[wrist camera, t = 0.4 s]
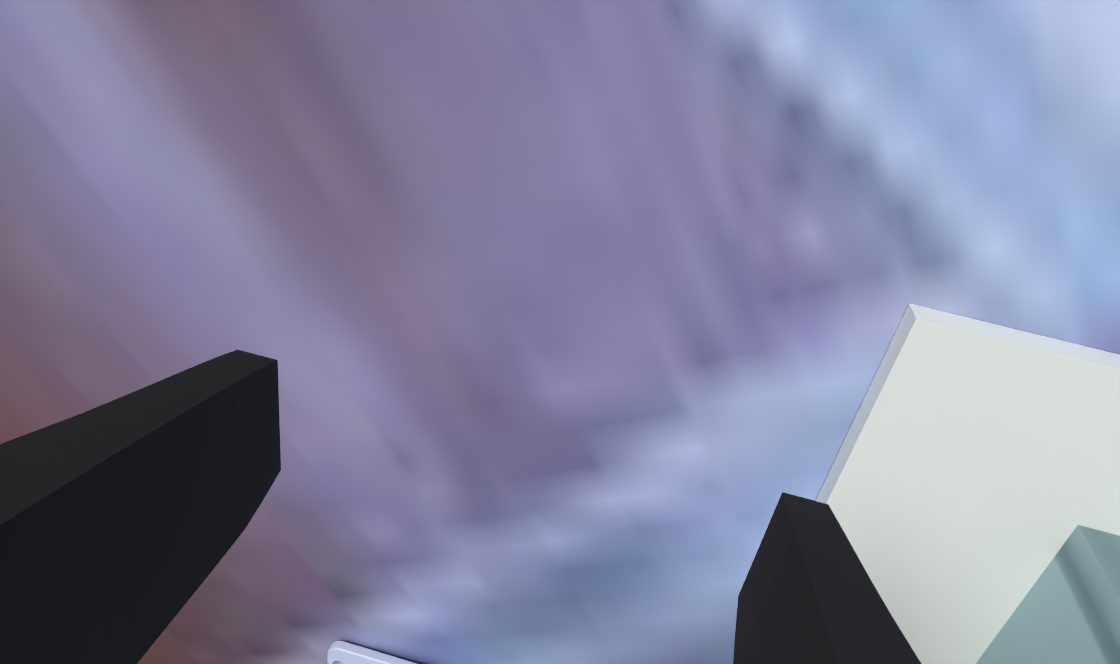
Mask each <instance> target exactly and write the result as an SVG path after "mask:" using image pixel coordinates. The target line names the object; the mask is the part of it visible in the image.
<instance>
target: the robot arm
mask: <svg viewBox="0 0 1120 664" xmlns="http://www.w3.org/2000/svg"><path fill="white" fill-rule="evenodd" d="M280 470H281V462H280V429H279V396H278V364H277V360H275V359H271V358H267V357H263V356H259V355H256V354H252V353H248V352H244V351H240V350H236V351H233V352H230V353H227V354H224V355H222V356H219V357H216V358H214V359H211V360H209V361H206V362H204V363H202V364H199V365H197V366H194V367H192V368H189V369H187V370H185V371H182V372H180V373H178V374H175V375H173V376H171V377H168V378H166V379H164V380H161V381H159V382H156V383H154V384H152V385H149V386H147V387H145V388H142V389H140V390H137V391H135V392H133V393H130V394H128V395H125V396H123V397H121V398H118V399H116V400H113V401H111V402H109V403H106V404H104V405H101V406H99V407H97V408H94V409H92V410H89V411H87V412H84V413H82V414H79V415H77V416H74V417H71V418H69V419H66V420H63V421H61V422H58V423H55V424H53V425H50V426H47V427H45V428H42V429H39V430H37V431H34V432H32V433H29V434H26V435H24V436H21V437H18V438H16V439H13V440H10V441H8V442H5V443H2V444H0V664H137V663H138V662H139V660H140V659H141V658H142V657H143V655H144V654H145V653H146V652H147V650H148V649H149V648H150V647H151V645H152V644H153V643H154V642H155V641H156V639H157V638H158V637H159V636H160V634H161V633H162V632H163V631H164V629H165V628H166V627H167V626H168V624H169V623H170V622H171V621H172V619H173V618H174V617H175V616H176V615H177V613H178V612H179V611H180V610H181V608H182V607H183V606H184V605H185V603H186V602H187V601H188V600H189V598H190V597H191V596H192V595H193V594H194V592H195V591H196V590H197V589H198V587H199V586H200V585H201V584H202V582H203V581H204V580H205V579H206V577H207V576H208V575H209V574H210V573H211V571H212V570H213V569H214V567H215V566H216V565H217V564H218V562H219V561H220V560H221V559H222V557H223V556H224V555H225V554H226V552H227V551H228V550H229V549H230V547H231V546H232V545H233V544H234V542H235V541H236V540H237V538H238V537H239V536H240V535H241V533H242V532H243V531H244V529H245V528H246V526H247V525H248V523H249V522H250V520H251V518H252V517H253V515H254V514H255V512H256V510H257V509H258V507H259V506H260V504H261V502H262V501H263V499H264V497H265V496H266V494H267V492H268V491H269V489H270V487H271V485H272V484H273V482H274V480H275V479H276V477H277V475H278V474H279V472H280ZM327 664H417V663H414V662H411V661H407V660H404V659H401V658H397V657H394V656H391V655H388V654H384V653H381V652H378V651H374V650H371V649H368V648H364V647H361V646H358V645H354V644H351V643H348V642H344V641H335V642H333V643H332V645H331V647H330V648H329V650H328V661H327ZM733 664H921V662H920V661H919V659H918V657H917V656H916V654H915V653H914V651H913V649H912V648H911V646H910V644H909V643H908V641H907V640H906V638H905V636H904V635H903V633H902V631H901V630H900V628H899V626H898V625H897V623H896V622H895V620H894V618H893V617H892V615H891V613H890V612H889V610H888V608H887V607H886V605H885V603H884V602H883V600H882V598H881V596H880V595H879V593H878V591H877V590H876V588H875V586H874V584H873V583H872V581H871V579H870V577H869V575H868V574H867V572H866V570H865V568H864V567H863V565H862V563H861V561H860V560H859V558H858V556H857V554H856V552H855V551H854V549H853V547H852V545H851V544H850V542H849V540H848V538H847V536H846V535H845V533H844V531H843V529H842V527H841V526H840V524H839V522H838V520H837V519H836V517H835V515H834V513H833V512H832V510H831V508H830V506H829V505H828V504H825V503H821V502H817V501H813V500H810V499H806V498H802V497H798V496H794V495H790V494H787V493H783V492H782V495H781V497H780V499H779V502H778V504H777V506H776V509H775V511H774V514H773V516H772V518H771V521H770V523H769V525H768V528H767V530H766V532H765V535H764V537H763V539H762V542H761V544H760V547H759V549H758V551H757V554H756V556H755V558H754V561H753V563H752V565H751V568H750V570H749V572H748V575H747V577H746V580H745V582H744V584H743V587H742V589H741V591H740V594H739V597H738V609H737V620H736V632H735V647H734V662H733Z"/></svg>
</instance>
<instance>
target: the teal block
mask: <svg viewBox="0 0 1120 664" xmlns="http://www.w3.org/2000/svg"><path fill="white" fill-rule="evenodd" d="M976 664H1120V536H1119V535H1115V534H1112V533H1108V532H1104V531H1100V530H1096V529H1093V528H1089V527H1085V526H1081V525H1077V527H1076V528H1075V529H1074V531H1073V532H1072V533H1071V535H1070V536H1069V538H1068V539H1067V540H1066V542H1065V543H1064V544H1063V546H1062V547H1061V548H1060V550H1059V551H1058V552H1057V554H1056V555H1055V557H1054V558H1053V559H1052V561H1051V562H1050V563H1049V565H1048V566H1047V567H1046V569H1045V570H1044V572H1043V573H1042V574H1041V576H1040V577H1039V578H1038V580H1037V581H1036V582H1035V584H1034V585H1033V586H1032V588H1031V589H1030V591H1029V592H1028V593H1027V595H1026V596H1025V597H1024V599H1023V600H1022V601H1021V603H1020V604H1019V605H1018V607H1017V608H1016V610H1015V611H1014V612H1013V614H1012V615H1011V616H1010V618H1009V619H1008V620H1007V622H1006V623H1005V624H1004V626H1003V627H1002V629H1001V630H1000V631H999V633H998V634H997V635H996V637H995V638H994V639H993V641H992V642H991V643H990V645H989V646H988V648H987V649H986V650H985V652H984V653H983V654H982V656H981V657H980V658H979V660H978V661H977V663H976Z"/></svg>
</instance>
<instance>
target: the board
mask: <svg viewBox="0 0 1120 664" xmlns="http://www.w3.org/2000/svg"><path fill="white" fill-rule="evenodd" d="M816 501H817V502H821V503H825V504H828V505H829V506H830V508H831V510H832V512H833V513H834V515H835V517H836V519H837V520H838V522H839V524H840V526H841V527H842V529H843V531H844V533H845V535H846V536H847V538H848V540H849V542H850V544H851V545H852V547H853V549H854V551H855V552H856V554H857V556H858V558H859V560H860V561H861V563H862V565H863V567H864V568H865V570H866V572H867V574H868V575H869V577H870V579H871V581H872V583H873V584H874V586H875V588H876V590H877V591H878V593H879V595H880V596H881V598H882V600H883V602H884V603H885V605H886V607H887V608H888V610H889V612H890V613H891V615H892V617H893V618H894V620H895V622H896V623H897V625H898V626H899V628H900V630H901V631H902V633H903V635H904V636H905V638H906V640H907V641H908V643H909V644H910V646H911V648H912V649H913V651H914V653H915V654H916V656H917V657H918V659H919V661H920V662H921V664H976V663H977V661H978V660H979V658H980V657H981V656H982V654H983V653H984V652H985V650H986V649H987V648H988V646H989V645H990V643H991V642H992V641H993V639H994V638H995V637H996V635H997V634H998V633H999V631H1000V630H1001V629H1002V627H1003V626H1004V624H1005V623H1006V622H1007V620H1008V619H1009V618H1010V616H1011V615H1012V614H1013V612H1014V611H1015V610H1016V608H1017V607H1018V605H1019V604H1020V603H1021V601H1022V600H1023V599H1024V597H1025V596H1026V595H1027V593H1028V592H1029V591H1030V589H1031V588H1032V586H1033V585H1034V584H1035V582H1036V581H1037V580H1038V578H1039V577H1040V576H1041V574H1042V573H1043V572H1044V570H1045V569H1046V567H1047V566H1048V565H1049V563H1050V562H1051V561H1052V559H1053V558H1054V557H1055V555H1056V554H1057V552H1058V551H1059V550H1060V548H1061V547H1062V546H1063V544H1064V543H1065V542H1066V540H1067V539H1068V538H1069V536H1070V535H1071V533H1072V532H1073V531H1074V529H1075V528H1076V527H1077V525H1081V526H1085V527H1089V528H1093V529H1096V530H1100V531H1104V532H1108V533H1112V534H1115V535H1119V536H1120V355H1119V354H1114V353H1110V352H1106V351H1102V350H1098V349H1094V348H1090V347H1086V346H1082V345H1078V344H1074V343H1069V342H1065V341H1061V340H1057V339H1053V338H1049V337H1045V336H1041V335H1037V334H1033V333H1029V332H1024V331H1020V330H1016V329H1012V328H1008V327H1004V326H1000V325H996V324H992V323H988V322H984V321H979V320H975V319H971V318H967V317H963V316H959V315H955V314H951V313H947V312H943V311H939V310H934V309H930V308H926V307H922V306H918V305H914V304H910V303H909V305H908V308H907V310H906V312H905V314H904V316H903V318H902V320H901V322H900V324H899V326H898V329H897V331H896V333H895V335H894V337H893V339H892V341H891V343H890V345H889V348H888V350H887V352H886V354H885V356H884V358H883V360H882V362H881V364H880V367H879V369H878V371H877V373H876V375H875V377H874V379H873V381H872V383H871V385H870V388H869V390H868V392H867V394H866V396H865V398H864V400H863V402H862V404H861V407H860V409H859V411H858V413H857V415H856V417H855V419H854V421H853V423H852V425H851V428H850V430H849V432H848V434H847V436H846V438H845V440H844V442H843V444H842V447H841V449H840V451H839V453H838V455H837V457H836V459H835V461H834V463H833V465H832V468H831V470H830V472H829V474H828V476H827V478H826V480H825V482H824V484H823V487H822V489H821V491H820V493H819V495H818V497H817V499H816Z"/></svg>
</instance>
